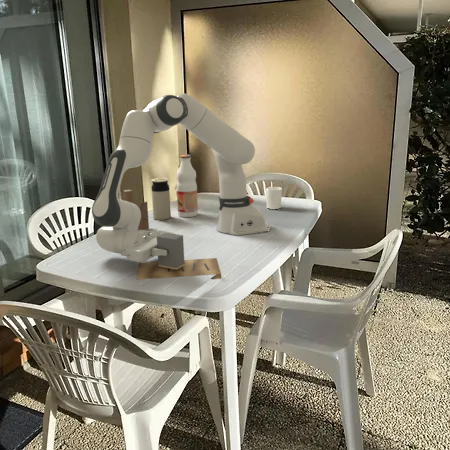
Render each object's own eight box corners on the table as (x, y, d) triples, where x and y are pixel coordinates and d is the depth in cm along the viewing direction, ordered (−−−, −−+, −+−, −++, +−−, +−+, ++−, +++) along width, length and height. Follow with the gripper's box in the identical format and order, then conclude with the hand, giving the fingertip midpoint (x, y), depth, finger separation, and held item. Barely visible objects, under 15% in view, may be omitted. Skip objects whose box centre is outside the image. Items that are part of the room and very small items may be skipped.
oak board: (216, 262, 158) (216, 257, 157) (221, 278, 144) (221, 273, 144) (139, 266, 155) (139, 262, 154) (137, 283, 141) (136, 279, 141)
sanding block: (158, 266, 148) (156, 236, 145) (166, 261, 152) (164, 232, 149) (176, 269, 145) (175, 239, 142) (184, 264, 149) (183, 235, 146)
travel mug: (169, 220, 209) (167, 181, 204) (152, 220, 209) (149, 181, 204) (171, 215, 216) (169, 177, 211) (155, 215, 217) (152, 177, 211)
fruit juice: (194, 218, 211) (192, 157, 203) (175, 217, 213) (172, 156, 205) (200, 212, 220) (198, 153, 212) (181, 211, 222) (178, 153, 214)
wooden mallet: (143, 237, 185) (140, 193, 180) (124, 233, 191) (121, 190, 186) (149, 235, 188) (146, 192, 183) (131, 231, 194) (127, 189, 189)
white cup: (282, 210, 221) (282, 190, 218) (266, 210, 222) (266, 190, 219) (280, 206, 229) (281, 186, 226) (265, 206, 229) (265, 186, 226)
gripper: (116, 244, 143) (152, 250, 137) (155, 226, 161) (189, 231, 154) (118, 263, 145) (154, 270, 139) (157, 243, 162) (190, 249, 156)
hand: (173, 249), depth 147 cm, fingers closed on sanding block, 4 cm apart
